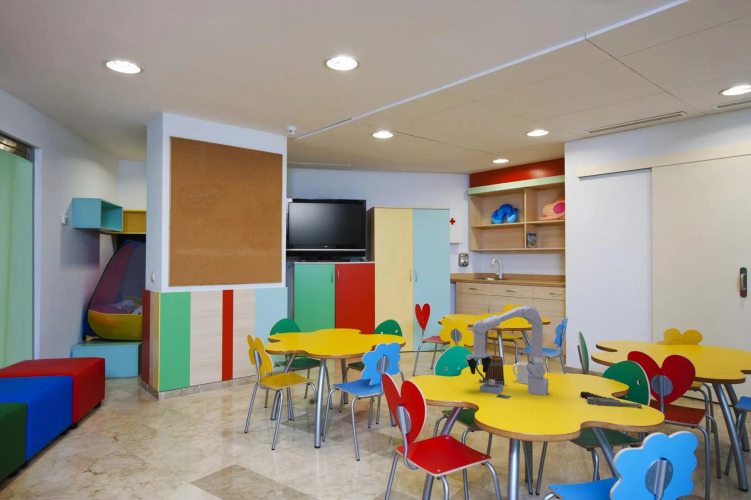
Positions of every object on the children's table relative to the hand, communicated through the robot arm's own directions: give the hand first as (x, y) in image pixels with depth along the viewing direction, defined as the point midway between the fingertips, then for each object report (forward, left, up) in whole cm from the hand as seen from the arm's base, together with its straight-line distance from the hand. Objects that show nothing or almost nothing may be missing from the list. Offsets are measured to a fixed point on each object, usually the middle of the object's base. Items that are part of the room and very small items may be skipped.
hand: (479, 373), depth 228 cm
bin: (-5, -5, -10) cm, 12 cm away
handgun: (-56, -23, -11) cm, 62 cm away
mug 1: (+1, -20, -10) cm, 22 cm away
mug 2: (-13, -37, -10) cm, 40 cm away
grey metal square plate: (-13, +2, -10) cm, 17 cm away
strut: (-5, -5, -9) cm, 12 cm away
